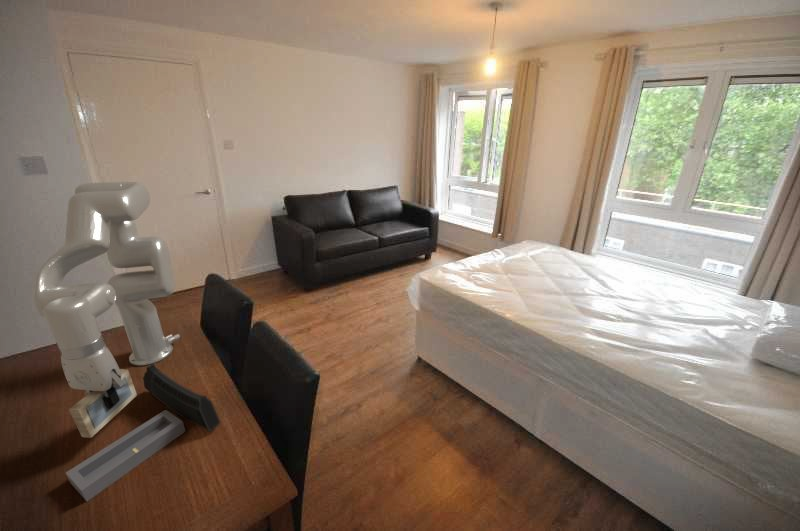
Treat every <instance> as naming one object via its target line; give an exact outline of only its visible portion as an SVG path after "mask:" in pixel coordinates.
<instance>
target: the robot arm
mask: <svg viewBox="0 0 800 531" xmlns="http://www.w3.org/2000/svg"><path fill="white" fill-rule="evenodd" d="M150 202H151V195H150V192H149V190H148V188H147V186H145V185H144V184H143V183H141V182H137V181H118V182H116V181H114V182H112V181H111V182H107V181H106V182H88V183H83V184H79V185H78V186H76V187H75V189H74V194H73V195H72V196H71V197H70V198H69V201H68V204H67V211H66V212H67V213H66V226H65V240H64V244H63V246H61V247H60V248H59V249H58V250H57V251H55V252H54V253H53V254H52V255H51V256H50V257H49V258H48V259H47V260H46V261H45V262H44V263H43V265H42V266H41V267H40V269H39V270H38V273H37V275H36V278H35V284H34V294H33V295H34V296H33V302H34V307H35V310H36V313H38V314H39V315H40V316H42V317H43V318H45V321H46V323H47V326H48V328H49V329H50V332H51V333H52V336H53V338H54V340H55V343H56V344H57V346H58V350H59V352H60V362H61V366H62V370H63V373H64V377H65V379H66V380H67V383H68V385H69V387H70V388H71V389H73V390H80V391H81V390H82V391H85V394H86V395H88V394H89V393H90V392H91V391H102V393H103V395H104V397H103V400H104V402H105V405H106V407H107V409H111V408H112V407H113V406H114V405H116V404H117V403H118V402H119V401H120V399H119V396H118V394H117V391H116V390H118V389H121V388H122V387H123V386H124V385H125V383H124V382H123V381H122V380H121V372H120V369H121V368H120V367H119V365H118V363H117V361H116V359H115V357H114V355H113V354H112V352H111V351H110V349H109V348H108V347H107V346H106V342H105V340H104V337H103V334H102V332H101V330H100V327H99V324H98V321H97V318H98V317H99V316H101V315H102V314H104V313H105V312H107V311H108V310H110V309H111V307H113V305H114V304H115V306H116V307H117V311H118V312H119V315H120V317H121V321H122V323H123V327H124V329H125V332H126V336H127V338H128V342H129V344H130V345H129V346H130V347H131V350H132V352H131V354H130V355H129V357H128V359H129V360H128V361H129V363H130V364H132V365H134V366H147V365H148V366H149V365H152V364H155V363H157V362H160V361H162V360H164V359H165V358H167V357H168V356H169V355H171V354H172V352H173V350H174V348H173V345H172V344H173V342H175V341H178V340H180V339H181V335H180V334H179V333H177V334H175V335H173V334H172V333H170V334H168V335H167V336H165V335H164V332H163V329H162V324H161V321H160V318H159V315H158V310H157V307H156V306H155V304H154V303H153V302H152V301H151V300H152V299H159V298H165V297H169V296H172V295H173V293H174V292H175V284H176V283H175V278H174V272H173V267H172V266H173V265H172V260H171V256H170V251H169V248H168V245H167V243H166V242H165V240H163V238H161V237H158V236H145V237H144V236H143V237H139V235H138V230H137V225H136V222H135V220H137V219H139V218H140V217H141V216H142V214H144V212H145V211H146V210H147V209H148V207H149V206H150ZM104 254H106V256H107V259H108V262H109V264H110V265H111V267H113V268H115V269H116V268H117V269H131V268H132V269H133V268H143V267H152V268H153V269H149V270H147V269H146V270H136V271H126V272H122V273H117V274H115V275H112V276H111V277H110V278H109V279H108V281H107V282H89V283H78V284H69V285H61V284H62V282H63V279H64V278H65V276H67V274H68V273H69V272H71V271H72V270H74V269H75V268H76V267H79V266H80V265H82V264H84V263H86V262H89V261H91V260H93V259H95V258H97V257H99V256H101V255H104ZM110 387H111V388H110ZM109 388H110V389H109ZM108 389H109V390H108Z"/></svg>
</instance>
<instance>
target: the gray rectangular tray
mask: <svg viewBox="0 0 800 531" xmlns="http://www.w3.org/2000/svg"><path fill="white" fill-rule="evenodd" d="M184 433H186V428H185V426H184V422H183V420H181V419H180V418H179V417H177V416H175V415H174V414H173V413H171V412H169V410H166V409H165V410H163V411H162V412H160V413H158V414H156V415H155V416H153V417H151V418H149V420H147V421H145V422H143V423H142V424H141V425H139V426H138V427H137V426H136V428H134V429H133V430H131V431H129V432H128V433H126V434H125V435H122V437H120V438H118V439H117V440H115V441H113V442H112V443H111V444H108V445H107V446H105V447H104V448H102V449H100V450H99V451H98V452H96V453H95V454H93V455H92V456H89V458H86V459H85V460H84V461H82V462H79V463H78V464H77V465H76V466H74V467H72V468H71V469H69V470H67V471H66V472H65V474H66V477H67V479H68V481H69V483H70V485H72V486H73V488H74V489H75V490H76V491H77V492H78V494H80V496H81V497H82V499H84V500H85V502H89V501H90V500H91V499H92V498H94V497H95V496H97V495H99V494H100V493H101V492H103V491H104V490H105V489H107V488H108V487H109V486H111V485H112V484H114V483H115V482H116V481H118V480H120V479H121V478H122V477H123V476H125V475H126V474H128V473H130V471H132V470H134V469H135V468H136V467H138V466H139V465H140V464H142V463H143V462H145V461H146V460H148V459H149V458H151V457H152V456H153V455H155V454H156V453H157V452H159V451H160V450H161V449H163V448H164V447H166V446H168V444H170V443H171V442H172V441H174V440H175V439H177V438H178V437H180V436H181V435H182V434H184Z"/></svg>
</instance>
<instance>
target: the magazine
mask: <svg viewBox="0 0 800 531" xmlns="http://www.w3.org/2000/svg"><path fill="white" fill-rule="evenodd" d="M142 379H143V386H144V388H145V389H146V390H147V391H148V393H150V394H151V395H153V396H154V397H155V398H156V399H158V400H159V401H160V402H161V403H162V404H163V405H165V406H166V407H167V408H169V409H170V410H171V411H173V412H174V413H176V414H178V415H179V416H181V417H183V418H184V419H186V420H188V421H189V422H191V423H192V424H193V423H194V424H195V425H197V426H199V427H201V428H202V429H203V428H204V429H205V430H207V431H208V432H211V431H212V430H215V429H216V428H218V426H219V424H221V420H220V418H219V416H218V413H217V411H216V409H215V407H214V404H213V401H212V400H211V399H209V398H207V395H204V394H203V395H202V394H199V393H196V392H194V391H192V390H190V389H189V388H187V387H184V386H183V385H181V384H180V383H178V382H177V381H175V380H173V379H172V378H170V377H169V376H168V375H167V374H165V373H164V372H162V370H160V369H159V368H157V367H156V365H155V363H152V364H149V365H148V366H147V367H146V372H144V375H143V378H142Z"/></svg>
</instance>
